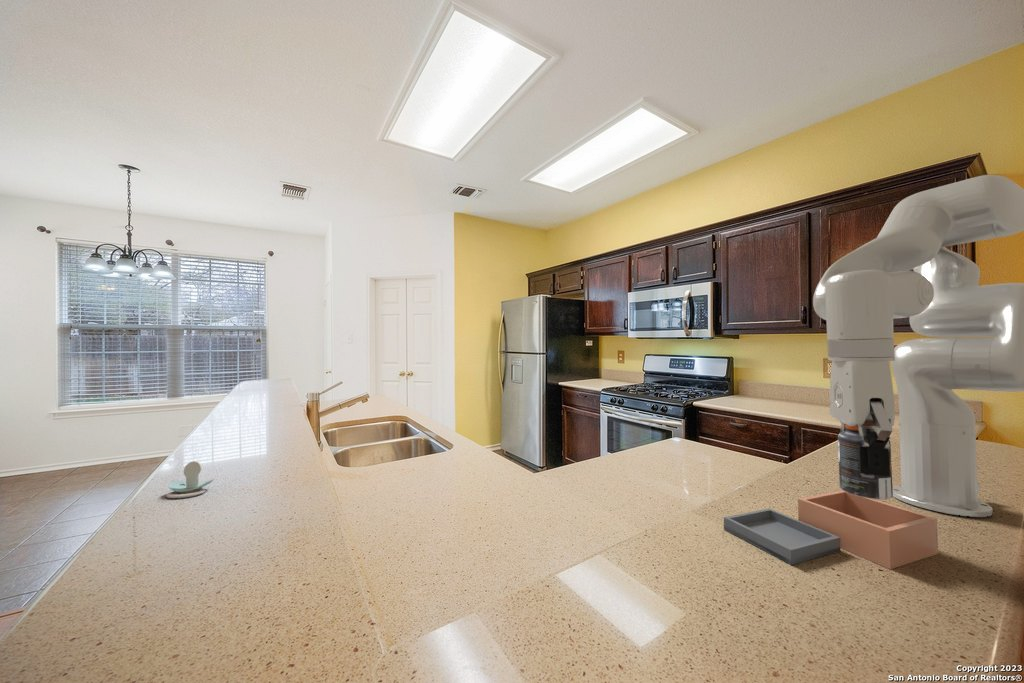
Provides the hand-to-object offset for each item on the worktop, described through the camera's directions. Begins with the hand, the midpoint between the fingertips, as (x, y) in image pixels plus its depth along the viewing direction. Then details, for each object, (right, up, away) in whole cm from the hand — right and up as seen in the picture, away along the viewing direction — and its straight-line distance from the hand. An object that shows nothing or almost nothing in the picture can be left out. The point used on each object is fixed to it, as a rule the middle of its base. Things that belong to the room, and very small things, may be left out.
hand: (864, 466), depth 56 cm
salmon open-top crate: (-1, -11, -1) cm, 11 cm away
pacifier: (-121, -12, +18) cm, 123 cm away
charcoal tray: (-13, -11, 0) cm, 18 cm away
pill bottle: (0, -4, 0) cm, 4 cm away
